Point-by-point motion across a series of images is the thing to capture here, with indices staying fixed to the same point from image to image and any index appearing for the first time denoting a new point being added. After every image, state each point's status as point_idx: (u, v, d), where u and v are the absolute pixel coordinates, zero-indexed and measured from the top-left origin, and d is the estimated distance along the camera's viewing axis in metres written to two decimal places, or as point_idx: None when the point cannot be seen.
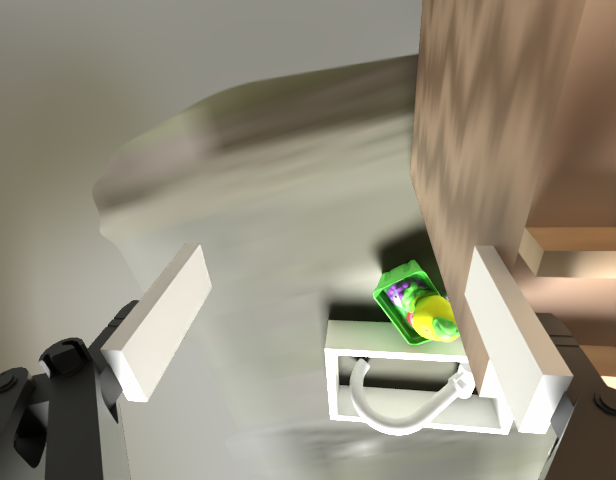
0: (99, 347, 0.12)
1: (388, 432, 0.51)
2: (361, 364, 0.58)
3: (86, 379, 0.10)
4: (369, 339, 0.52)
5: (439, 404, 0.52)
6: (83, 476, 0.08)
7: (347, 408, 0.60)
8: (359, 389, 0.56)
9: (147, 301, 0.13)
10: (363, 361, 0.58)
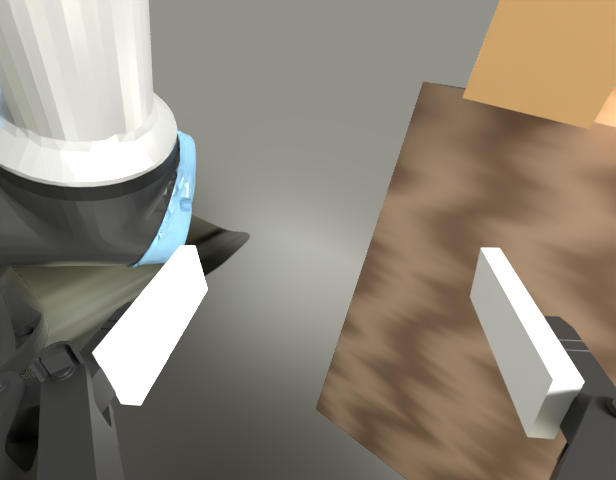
0: (92, 350, 0.12)
1: None
2: None
3: (78, 382, 0.10)
4: None
5: None
6: None
7: None
8: None
9: (141, 304, 0.13)
10: None
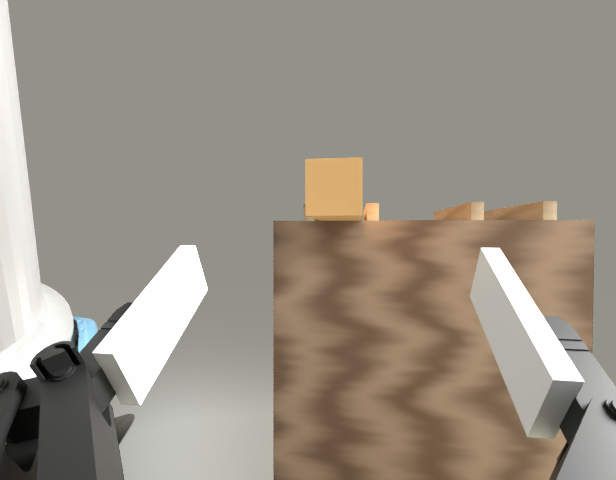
0: (92, 350, 0.12)
1: None
2: None
3: (78, 382, 0.10)
4: None
5: None
6: None
7: None
8: None
9: (141, 304, 0.13)
10: None
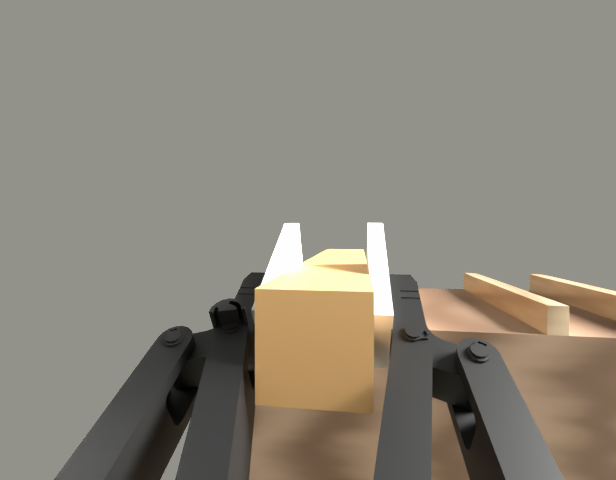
0: None
1: None
2: None
3: (239, 341, 0.11)
4: None
5: None
6: (217, 436, 0.09)
7: None
8: None
9: (274, 271, 0.14)
10: None
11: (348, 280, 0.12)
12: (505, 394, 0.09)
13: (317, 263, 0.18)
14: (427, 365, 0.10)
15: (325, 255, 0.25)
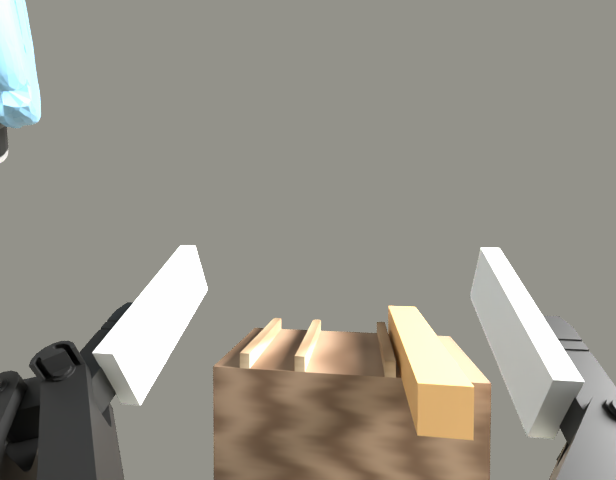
0: (92, 350, 0.12)
1: None
2: None
3: (78, 382, 0.10)
4: None
5: None
6: None
7: None
8: None
9: (141, 304, 0.13)
10: None
11: (452, 372, 0.25)
12: None
13: (412, 342, 0.31)
14: None
15: (401, 324, 0.37)
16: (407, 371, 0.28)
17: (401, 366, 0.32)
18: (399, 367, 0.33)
